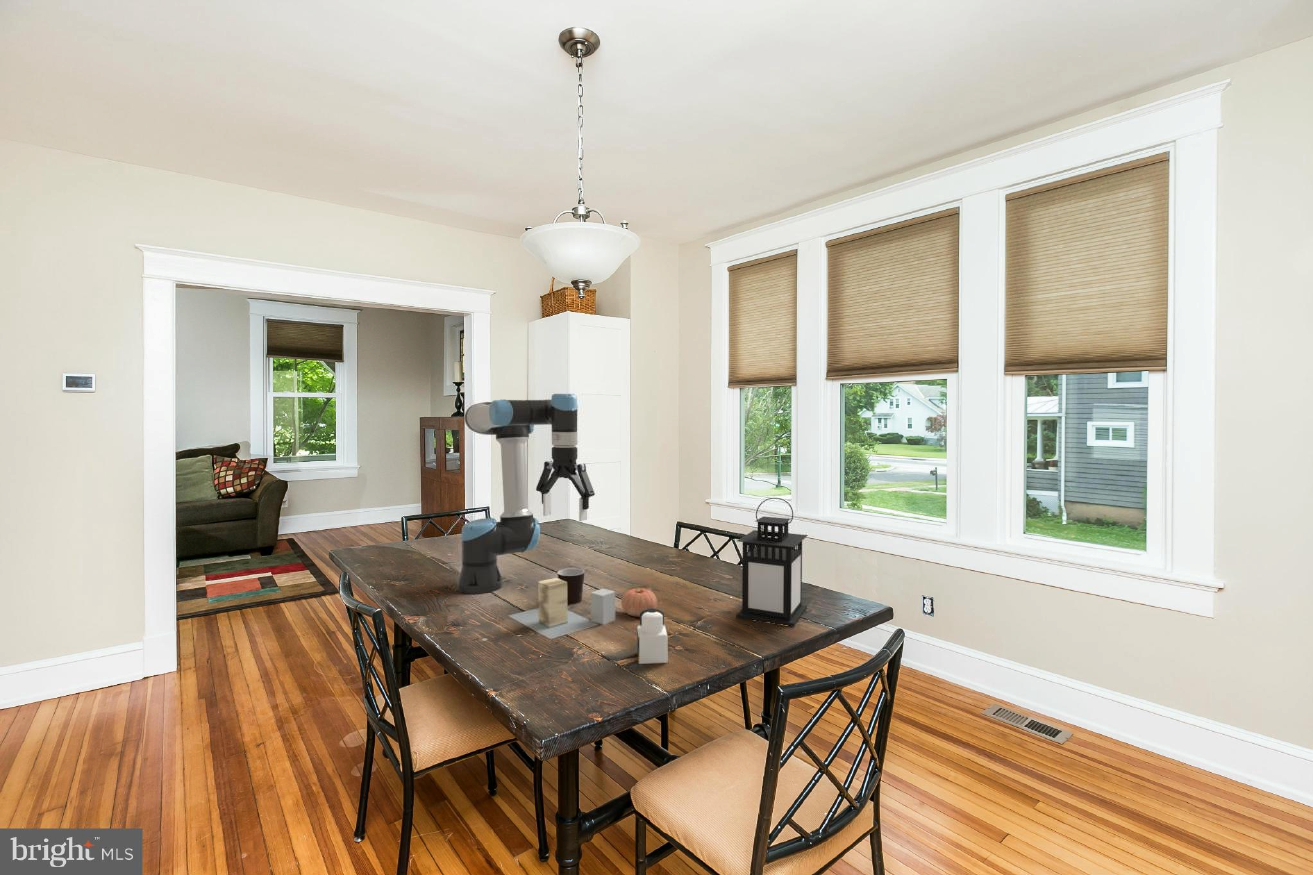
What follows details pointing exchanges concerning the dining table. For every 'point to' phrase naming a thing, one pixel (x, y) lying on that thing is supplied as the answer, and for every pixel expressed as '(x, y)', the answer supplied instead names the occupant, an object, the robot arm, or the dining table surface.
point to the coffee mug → (573, 584)
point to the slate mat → (573, 625)
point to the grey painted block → (603, 606)
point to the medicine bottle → (652, 637)
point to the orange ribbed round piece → (638, 601)
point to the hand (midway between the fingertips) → (564, 517)
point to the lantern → (772, 573)
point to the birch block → (552, 602)
